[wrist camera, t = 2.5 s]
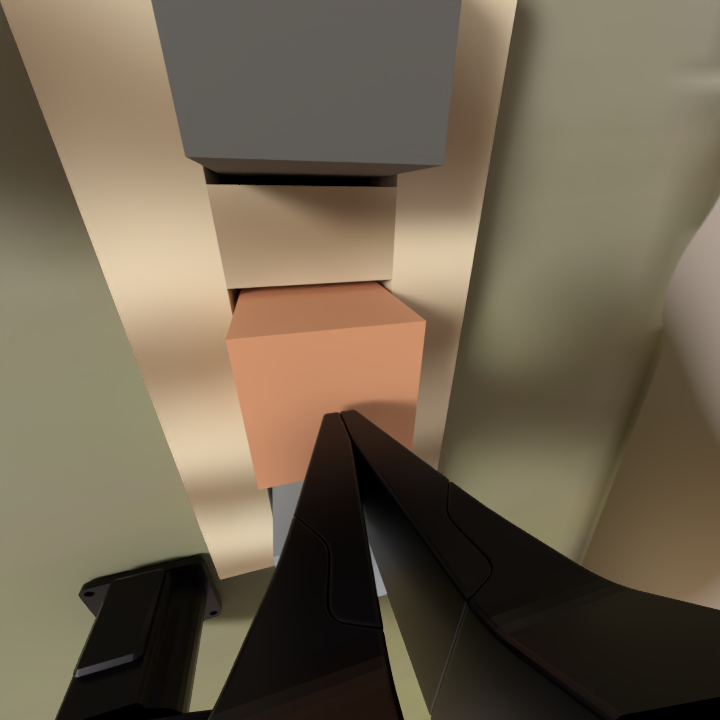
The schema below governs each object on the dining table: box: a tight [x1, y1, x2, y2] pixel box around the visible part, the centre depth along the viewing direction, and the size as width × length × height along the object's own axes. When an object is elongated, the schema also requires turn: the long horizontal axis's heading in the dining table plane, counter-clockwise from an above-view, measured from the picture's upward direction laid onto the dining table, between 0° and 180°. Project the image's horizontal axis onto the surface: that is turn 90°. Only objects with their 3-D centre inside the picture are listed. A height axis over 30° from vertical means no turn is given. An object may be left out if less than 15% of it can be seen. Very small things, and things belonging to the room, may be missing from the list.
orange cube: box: [225, 280, 426, 490], centre depth 11 cm, size 5×5×5 cm
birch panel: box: [0, 0, 517, 580], centre depth 13 cm, size 25×12×3 cm, turn 0°
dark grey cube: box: [151, 0, 462, 179], centre depth 7 cm, size 5×5×5 cm
